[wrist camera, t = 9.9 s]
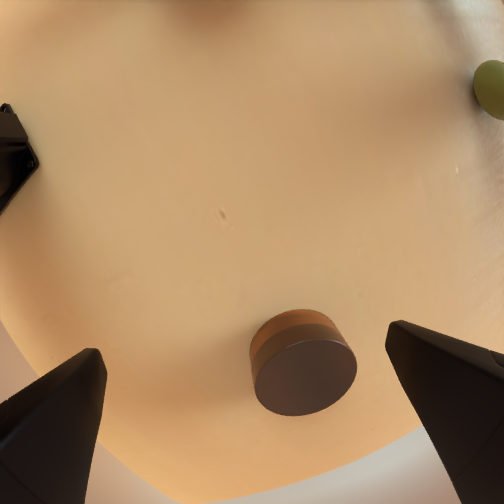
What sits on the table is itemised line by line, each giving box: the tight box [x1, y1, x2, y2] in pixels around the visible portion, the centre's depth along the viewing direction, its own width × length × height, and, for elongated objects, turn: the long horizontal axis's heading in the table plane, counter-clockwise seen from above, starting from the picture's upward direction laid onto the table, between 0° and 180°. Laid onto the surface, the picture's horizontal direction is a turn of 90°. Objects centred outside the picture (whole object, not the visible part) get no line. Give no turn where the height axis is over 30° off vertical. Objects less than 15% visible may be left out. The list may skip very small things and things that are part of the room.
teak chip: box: [250, 309, 343, 366], centre depth 21 cm, size 7×7×2 cm
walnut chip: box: [252, 323, 357, 416], centre depth 19 cm, size 7×7×2 cm
